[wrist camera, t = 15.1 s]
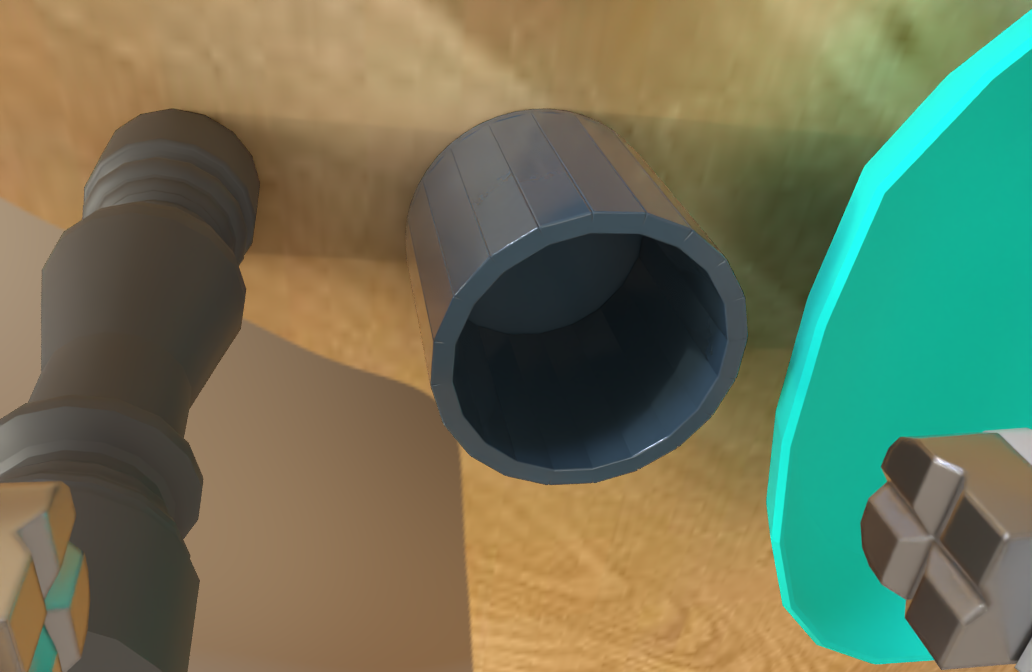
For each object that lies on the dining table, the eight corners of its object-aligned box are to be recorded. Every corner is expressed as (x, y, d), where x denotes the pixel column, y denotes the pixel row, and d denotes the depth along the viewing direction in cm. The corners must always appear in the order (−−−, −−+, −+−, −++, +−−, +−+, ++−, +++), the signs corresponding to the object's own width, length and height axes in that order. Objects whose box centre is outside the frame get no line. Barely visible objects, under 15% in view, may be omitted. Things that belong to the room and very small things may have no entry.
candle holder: (281, 144, 37) (242, 640, 16) (232, 270, 39) (145, 839, 19) (122, 83, 34) (-165, 574, 14) (81, 221, 37) (-213, 812, 16)
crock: (400, 342, 43) (422, 492, 34) (411, 101, 37) (442, 208, 28) (631, 339, 45) (709, 478, 36) (677, 114, 39) (782, 215, 30)
